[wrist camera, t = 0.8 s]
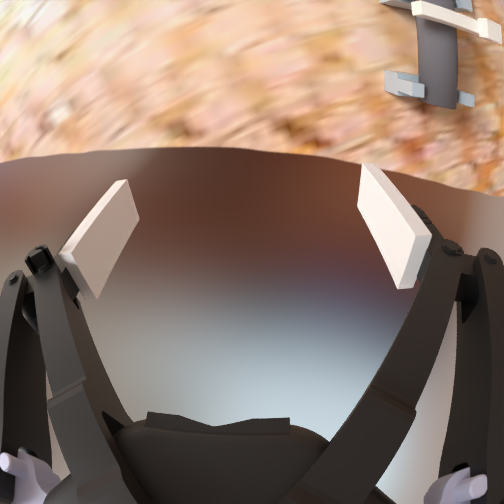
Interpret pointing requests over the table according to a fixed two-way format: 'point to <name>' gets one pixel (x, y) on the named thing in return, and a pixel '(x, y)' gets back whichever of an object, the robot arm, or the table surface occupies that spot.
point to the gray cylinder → (438, 59)
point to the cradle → (409, 82)
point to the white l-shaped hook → (458, 21)
